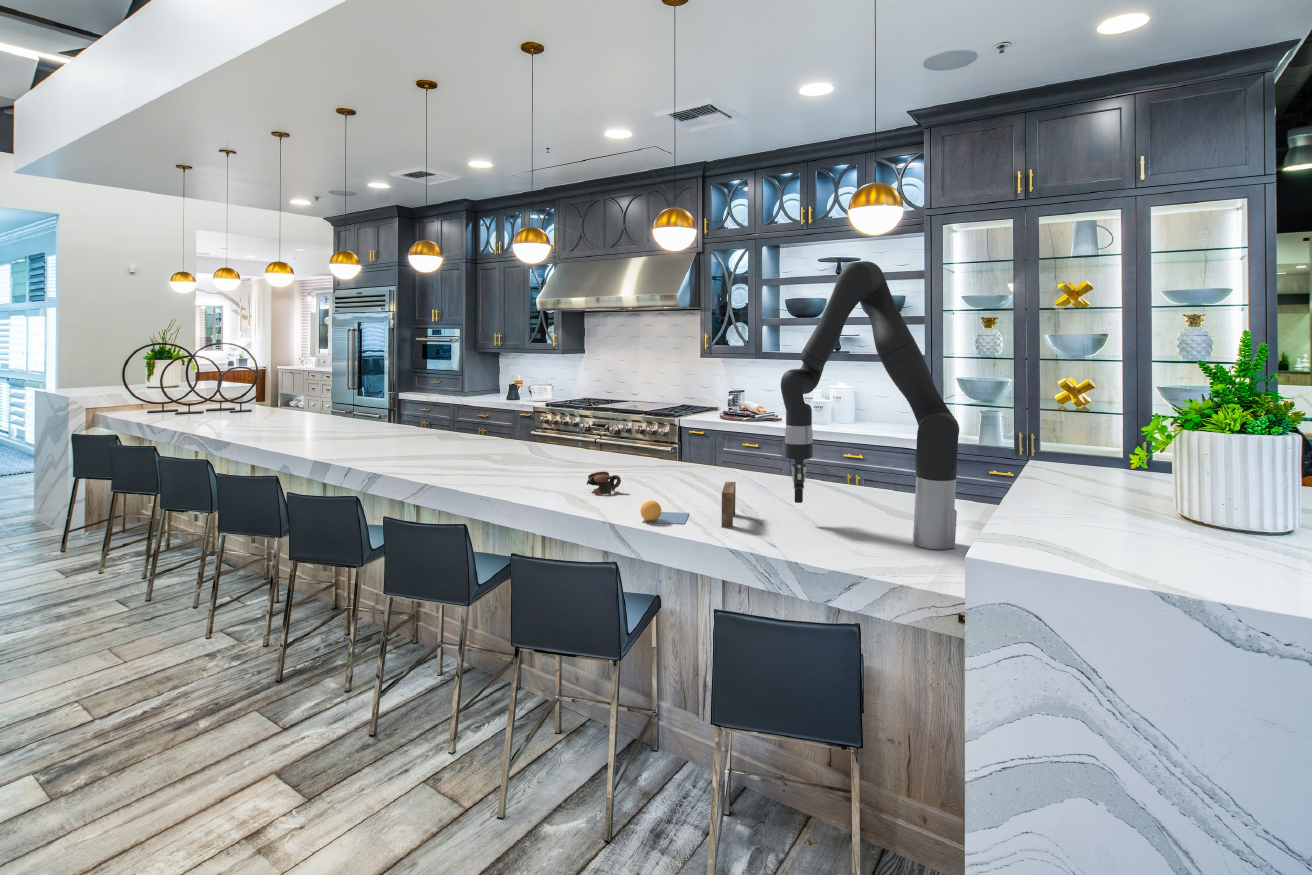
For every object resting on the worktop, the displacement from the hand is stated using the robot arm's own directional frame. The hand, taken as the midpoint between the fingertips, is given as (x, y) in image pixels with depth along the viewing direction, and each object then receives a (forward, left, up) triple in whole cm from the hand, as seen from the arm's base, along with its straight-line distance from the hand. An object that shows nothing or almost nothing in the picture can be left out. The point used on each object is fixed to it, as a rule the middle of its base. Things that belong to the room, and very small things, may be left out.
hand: (798, 502), depth 192 cm
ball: (+41, +4, -3) cm, 42 cm away
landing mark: (+38, 0, -6) cm, 38 cm away
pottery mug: (+64, -30, -6) cm, 71 cm away
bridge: (+20, 0, -6) cm, 20 cm away
